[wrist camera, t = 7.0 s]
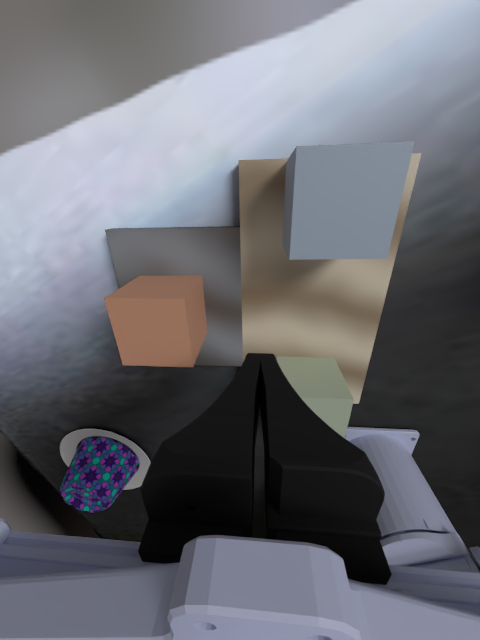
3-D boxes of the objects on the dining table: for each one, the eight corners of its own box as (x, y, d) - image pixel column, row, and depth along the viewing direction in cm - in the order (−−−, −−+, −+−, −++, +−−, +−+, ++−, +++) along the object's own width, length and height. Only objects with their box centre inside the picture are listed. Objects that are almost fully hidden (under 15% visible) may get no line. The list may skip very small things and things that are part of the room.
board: (355, 396, 24) (358, 403, 23) (150, 388, 26) (146, 395, 25) (412, 155, 16) (421, 153, 15) (98, 168, 17) (89, 166, 16)
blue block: (354, 243, 17) (387, 258, 13) (282, 244, 18) (289, 259, 13) (368, 159, 15) (415, 141, 10) (286, 162, 15) (296, 146, 11)
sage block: (326, 400, 24) (342, 447, 19) (274, 398, 24) (277, 444, 19) (334, 357, 21) (353, 399, 17) (276, 356, 22) (280, 396, 17)
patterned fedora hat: (63, 412, 29) (25, 452, 24) (161, 439, 30) (143, 484, 25) (64, 470, 34) (32, 513, 30) (147, 492, 35) (129, 537, 30)
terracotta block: (207, 332, 21) (193, 367, 17) (151, 331, 22) (122, 365, 17) (202, 275, 19) (184, 298, 15) (140, 275, 19) (103, 298, 15)
